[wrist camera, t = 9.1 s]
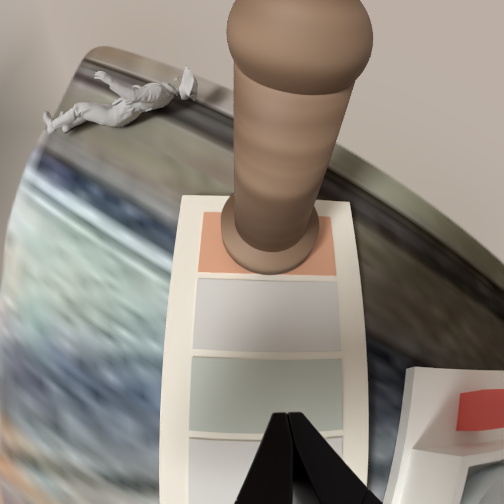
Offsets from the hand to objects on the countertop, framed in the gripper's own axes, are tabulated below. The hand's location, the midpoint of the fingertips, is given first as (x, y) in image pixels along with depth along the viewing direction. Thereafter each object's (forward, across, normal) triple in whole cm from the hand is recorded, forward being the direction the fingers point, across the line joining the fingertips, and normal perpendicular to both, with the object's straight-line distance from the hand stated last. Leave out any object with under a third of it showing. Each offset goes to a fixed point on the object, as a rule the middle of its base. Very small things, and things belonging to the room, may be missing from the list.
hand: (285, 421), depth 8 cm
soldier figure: (+19, +11, -9) cm, 24 cm away
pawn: (+10, 0, -3) cm, 11 cm away
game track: (+5, 0, +5) cm, 7 cm away
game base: (+1, -11, +9) cm, 14 cm away
